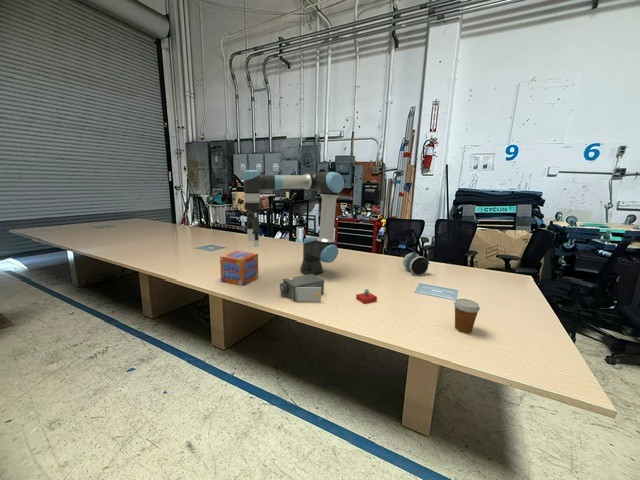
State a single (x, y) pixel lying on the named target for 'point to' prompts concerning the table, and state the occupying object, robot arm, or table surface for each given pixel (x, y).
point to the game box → (239, 267)
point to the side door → (307, 293)
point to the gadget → (415, 263)
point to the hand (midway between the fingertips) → (253, 243)
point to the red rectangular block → (366, 297)
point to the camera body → (300, 284)
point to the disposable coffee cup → (465, 314)
